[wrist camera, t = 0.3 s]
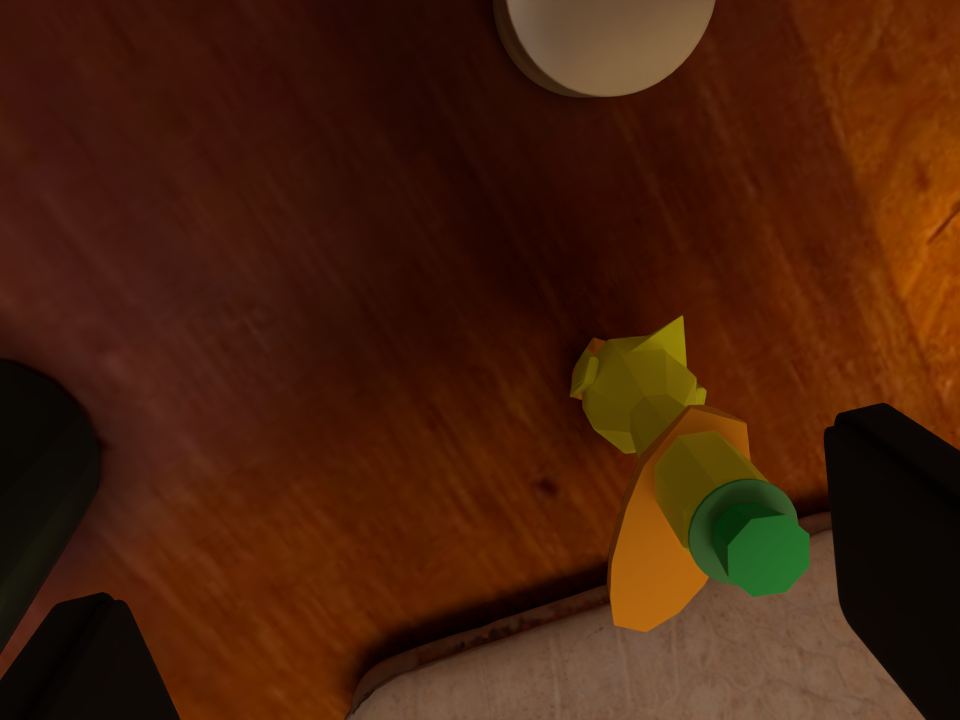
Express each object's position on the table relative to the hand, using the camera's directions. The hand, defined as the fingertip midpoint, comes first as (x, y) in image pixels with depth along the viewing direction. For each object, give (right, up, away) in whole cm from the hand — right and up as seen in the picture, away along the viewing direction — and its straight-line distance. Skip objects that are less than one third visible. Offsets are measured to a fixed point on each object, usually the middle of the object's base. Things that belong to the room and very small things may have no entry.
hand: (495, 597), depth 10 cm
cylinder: (+3, +13, +11) cm, 18 cm away
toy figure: (+4, +3, +15) cm, 16 cm away
